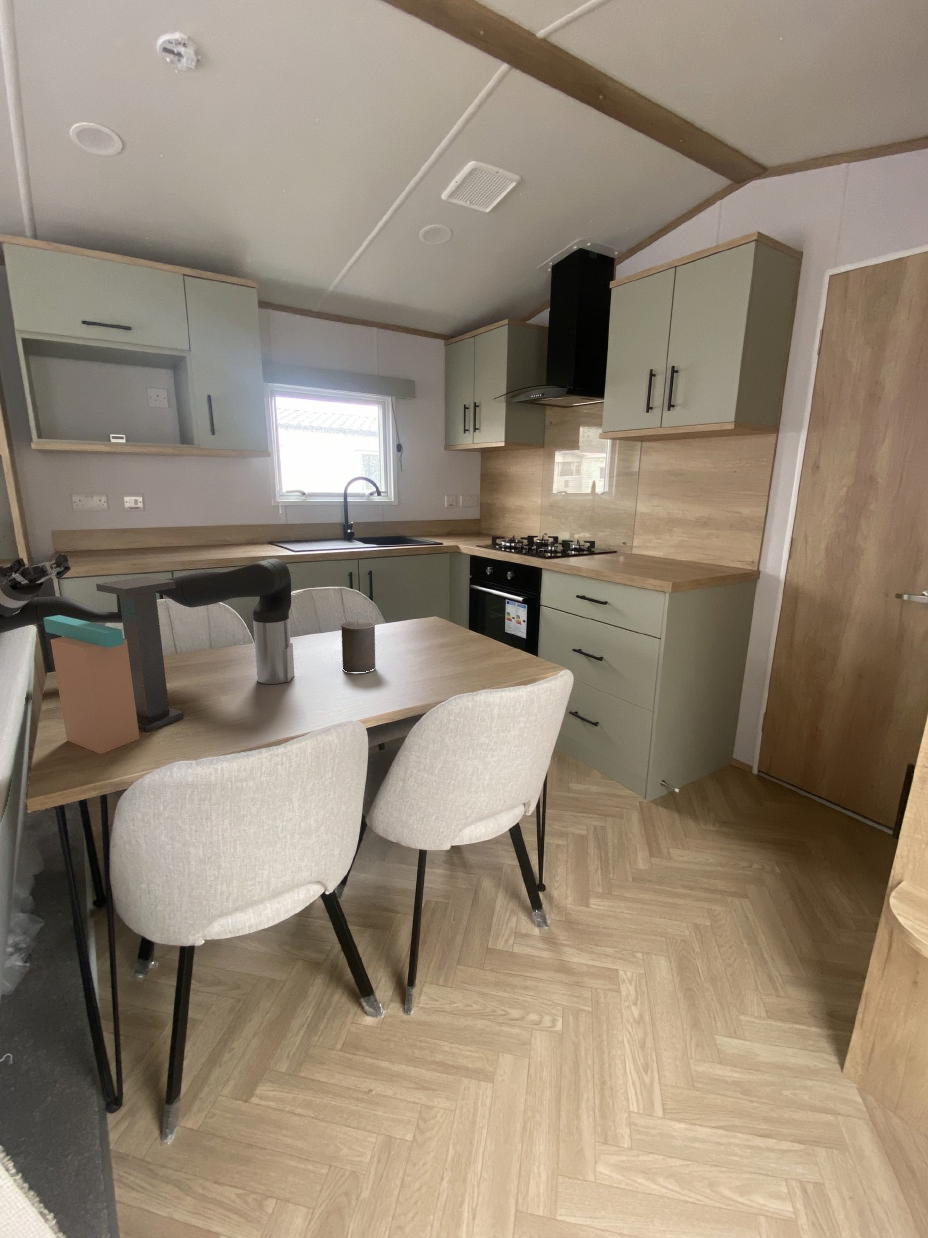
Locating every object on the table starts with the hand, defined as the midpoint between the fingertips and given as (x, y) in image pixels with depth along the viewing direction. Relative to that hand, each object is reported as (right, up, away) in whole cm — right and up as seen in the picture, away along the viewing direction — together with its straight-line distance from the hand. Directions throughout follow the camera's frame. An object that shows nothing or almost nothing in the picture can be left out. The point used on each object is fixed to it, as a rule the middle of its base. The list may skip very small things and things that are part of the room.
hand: (44, 559), depth 126 cm
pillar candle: (+64, -29, +38) cm, 80 cm away
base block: (+19, -39, -9) cm, 44 cm away
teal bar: (+18, -17, -13) cm, 28 cm away
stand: (+24, -37, +1) cm, 44 cm away
